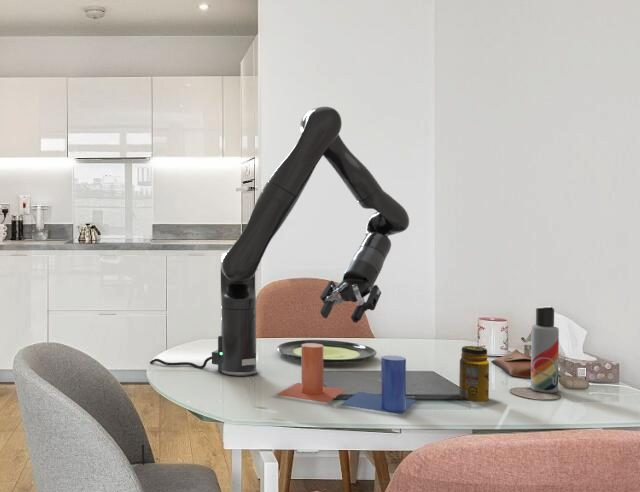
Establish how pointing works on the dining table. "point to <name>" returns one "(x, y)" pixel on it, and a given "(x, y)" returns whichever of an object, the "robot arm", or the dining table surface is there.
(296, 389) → the terracotta mat
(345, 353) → the plate
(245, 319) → the robot arm
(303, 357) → the terracotta canister
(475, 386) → the condiment
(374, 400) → the blue mat
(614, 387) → the dining table surface
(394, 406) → the blue canister
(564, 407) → the dining table surface
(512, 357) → the sunglasses case
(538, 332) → the lotion bottle
